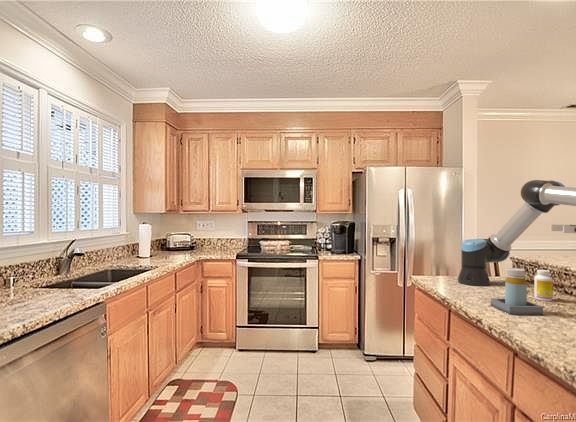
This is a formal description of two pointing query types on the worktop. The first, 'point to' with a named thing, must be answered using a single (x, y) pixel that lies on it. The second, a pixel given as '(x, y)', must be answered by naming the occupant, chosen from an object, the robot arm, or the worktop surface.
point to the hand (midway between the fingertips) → (556, 228)
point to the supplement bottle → (543, 286)
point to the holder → (517, 308)
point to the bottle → (515, 287)
